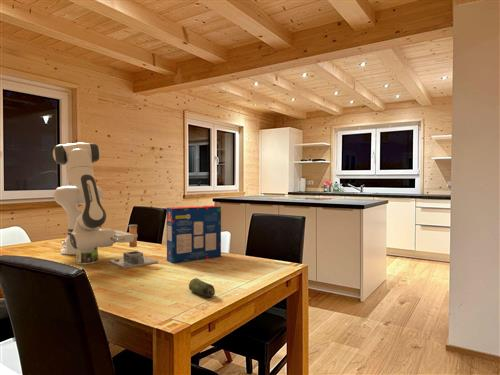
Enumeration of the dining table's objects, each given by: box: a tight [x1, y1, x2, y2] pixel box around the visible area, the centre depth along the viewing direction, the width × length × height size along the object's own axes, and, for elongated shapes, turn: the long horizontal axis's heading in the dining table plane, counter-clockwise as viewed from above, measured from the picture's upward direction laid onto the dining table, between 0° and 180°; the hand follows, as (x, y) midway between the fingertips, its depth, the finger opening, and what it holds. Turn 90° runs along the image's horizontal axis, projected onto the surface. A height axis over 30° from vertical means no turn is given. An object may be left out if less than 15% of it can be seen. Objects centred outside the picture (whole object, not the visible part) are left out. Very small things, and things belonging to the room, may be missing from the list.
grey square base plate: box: [108, 250, 159, 270], centre depth 177 cm, size 18×18×5 cm
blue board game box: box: [166, 205, 222, 264], centre depth 186 cm, size 28×8×28 cm, turn 124°
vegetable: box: [188, 277, 216, 299], centre depth 127 cm, size 14×5×5 cm, turn 40°
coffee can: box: [75, 247, 99, 265], centre depth 178 cm, size 10×10×14 cm
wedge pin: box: [128, 224, 138, 248], centre depth 177 cm, size 4×4×11 cm
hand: (134, 234), depth 177 cm, fingers closed on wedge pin, 4 cm apart
